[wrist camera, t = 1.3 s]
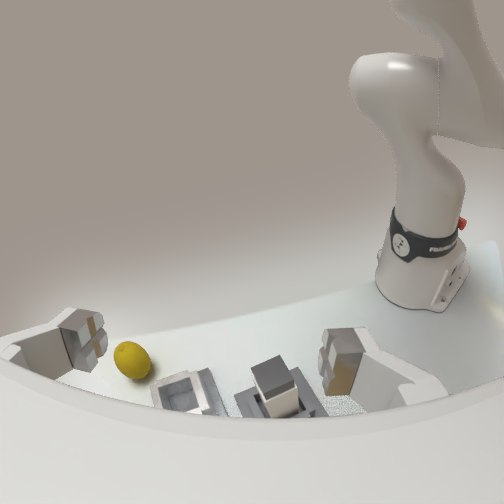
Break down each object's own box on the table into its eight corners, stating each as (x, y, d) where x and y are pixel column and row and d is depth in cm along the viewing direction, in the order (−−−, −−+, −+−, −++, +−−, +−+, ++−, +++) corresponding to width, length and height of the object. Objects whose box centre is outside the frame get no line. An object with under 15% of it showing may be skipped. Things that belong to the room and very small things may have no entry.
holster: (297, 369, 38) (296, 357, 36) (331, 423, 31) (334, 415, 28) (235, 397, 36) (228, 387, 34) (262, 456, 29) (258, 452, 26)
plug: (287, 393, 35) (280, 352, 27) (299, 414, 32) (297, 379, 24) (263, 404, 34) (247, 367, 26) (274, 426, 31) (262, 396, 24)
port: (209, 370, 40) (201, 356, 38) (232, 425, 33) (223, 416, 30) (153, 390, 38) (139, 378, 35) (167, 446, 31) (153, 438, 28)
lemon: (134, 357, 44) (111, 331, 39) (161, 359, 43) (140, 332, 38) (126, 384, 39) (100, 361, 34) (154, 388, 39) (130, 364, 34)
